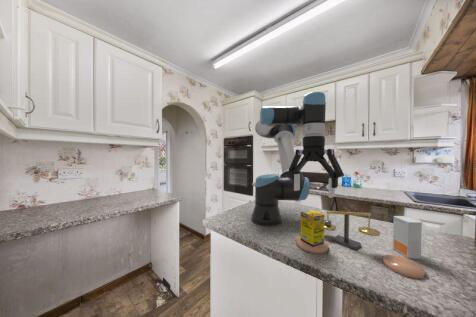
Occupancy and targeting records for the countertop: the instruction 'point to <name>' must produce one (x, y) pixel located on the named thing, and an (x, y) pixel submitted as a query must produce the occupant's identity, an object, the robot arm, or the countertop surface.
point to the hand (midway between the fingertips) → (312, 193)
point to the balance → (345, 239)
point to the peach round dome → (316, 250)
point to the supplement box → (312, 227)
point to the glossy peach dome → (403, 266)
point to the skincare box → (407, 236)
